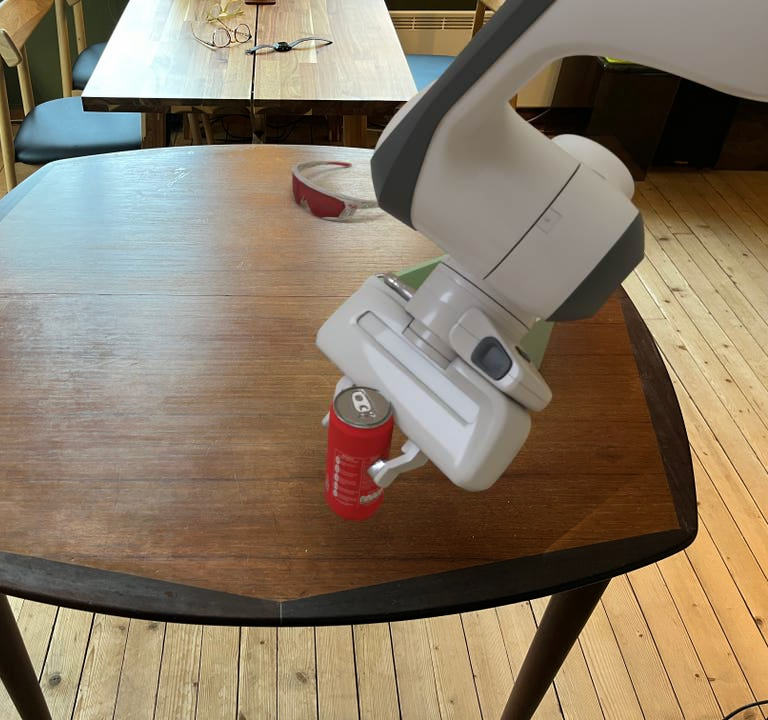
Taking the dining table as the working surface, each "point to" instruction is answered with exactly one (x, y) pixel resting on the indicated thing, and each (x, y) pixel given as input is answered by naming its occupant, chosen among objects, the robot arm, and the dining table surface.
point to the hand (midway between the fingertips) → (352, 455)
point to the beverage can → (356, 451)
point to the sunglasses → (325, 195)
